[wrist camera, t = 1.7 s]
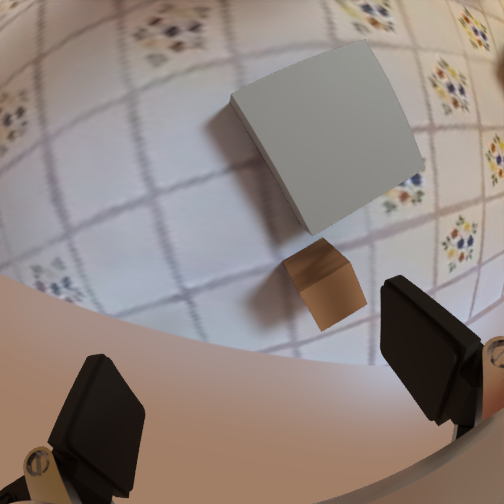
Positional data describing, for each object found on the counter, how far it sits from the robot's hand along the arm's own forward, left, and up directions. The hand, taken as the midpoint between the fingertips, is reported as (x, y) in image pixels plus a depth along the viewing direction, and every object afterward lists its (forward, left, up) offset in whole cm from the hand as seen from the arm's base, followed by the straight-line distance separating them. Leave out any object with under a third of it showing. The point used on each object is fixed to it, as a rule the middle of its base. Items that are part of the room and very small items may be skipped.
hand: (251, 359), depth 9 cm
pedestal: (-13, -3, -20) cm, 24 cm away
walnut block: (-5, +9, -20) cm, 23 cm away
